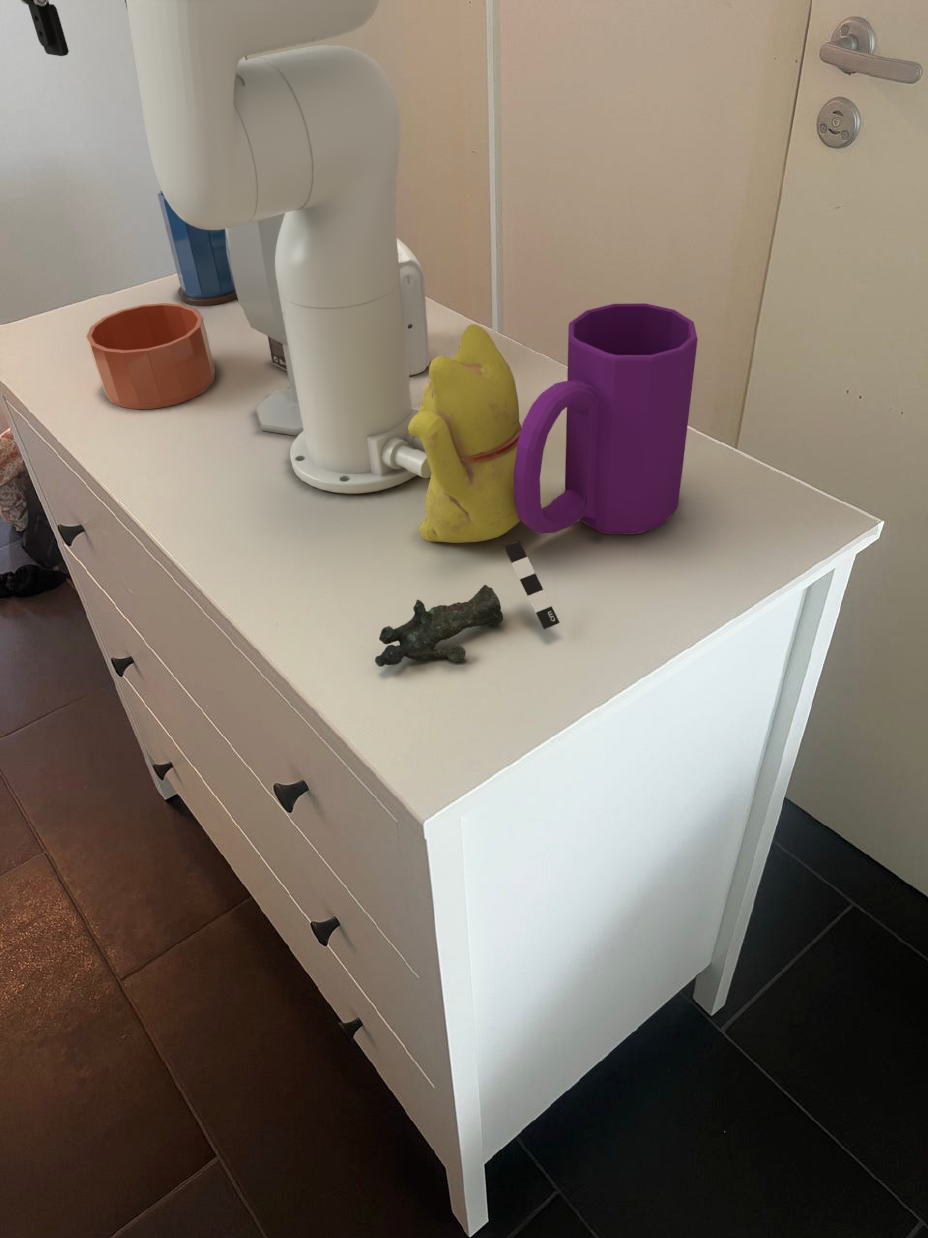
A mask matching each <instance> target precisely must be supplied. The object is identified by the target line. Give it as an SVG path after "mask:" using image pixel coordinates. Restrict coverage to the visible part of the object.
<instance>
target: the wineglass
mask: <svg viewBox="0 0 928 1238" xmlns="http://www.w3.org/2000/svg"><path fill="white" fill-rule="evenodd" d="M284 215H285V213H283V214H280V215H276V216H273V217H269V218H266V219H262V220H259V221H255V222H252V223H248V224H244V225H240V226H236V227H231V228H226V229H225V238H226V253H227V259H228V263H229V268H230V273H231V278H232V283H233V286H234V289H235V292H236V295H237V298H236V299H237V300H238V302H239V305H240V306H241V309H242V311H243V313H244V316H245V318H246V319H247V321H248V323H249V326H250V328H252V329H254V330H256V331H257V332H260V333H261V334H263V335H265V336H267V337H268V336H269V337H270V338H272V339H274V340H276V341H278V342H280V343H282V344H283V350H284V356H285V361H286V367H287V371H286V372H287V377H288V383H289V387H287V388H281V389H275V390H272V391H271V393H270V394H268V395H267V396H266V398H264V400H262V401H261V402H260V403H259V404H258V405H257V406H256V408H255V412H256V415H257V418H258V421H259V425H260V427H261V430H262V432H263V431H264V432H269V433H270V432H271V433H276V434H281V435H289V436H295V437H297V436H298V435H299V434H300V433H301V432H302V431H304V430H303V424H302V419H301V413H300V408H299V402H298V397H297V391H296V386H295V380H294V375H293V369H292V364H291V358H290V353H289V347H288V342H287V336H286V331H285V325H284V320H283V314H282V309H281V303H280V298H279V292H278V285H277V279H276V272H275V253H276V244H277V240H278V235H279V231H280V228H281V225H282V221H283V218H284Z"/></svg>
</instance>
